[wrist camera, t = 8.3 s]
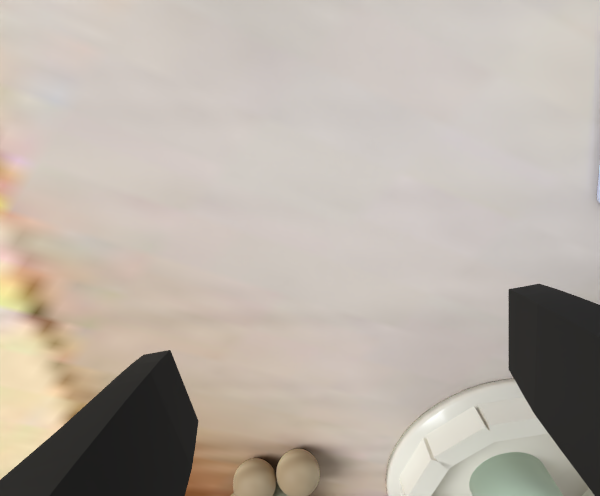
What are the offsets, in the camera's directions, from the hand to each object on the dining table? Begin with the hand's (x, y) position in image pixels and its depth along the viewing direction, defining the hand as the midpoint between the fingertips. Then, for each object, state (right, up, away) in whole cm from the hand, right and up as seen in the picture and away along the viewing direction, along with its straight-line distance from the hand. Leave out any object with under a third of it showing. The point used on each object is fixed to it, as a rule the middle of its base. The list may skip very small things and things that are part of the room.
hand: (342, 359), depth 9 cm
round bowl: (+11, -11, +16) cm, 22 cm away
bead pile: (-2, -11, +15) cm, 19 cm away
